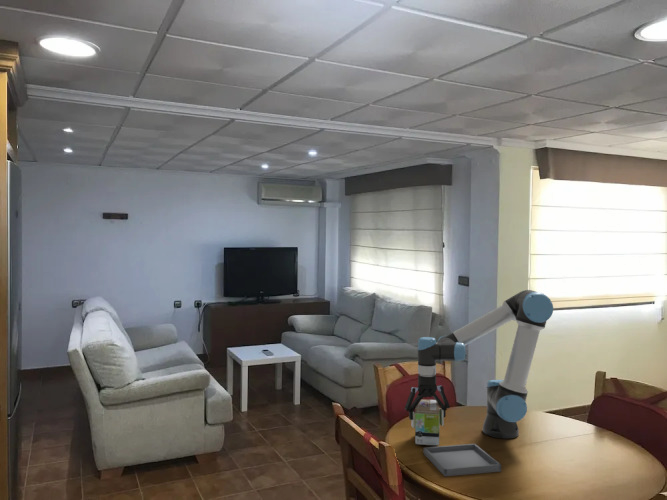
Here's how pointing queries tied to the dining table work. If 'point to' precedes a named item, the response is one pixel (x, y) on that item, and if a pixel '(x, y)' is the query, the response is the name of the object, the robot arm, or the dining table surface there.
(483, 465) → the tray
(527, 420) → the dining table surface
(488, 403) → the robot arm
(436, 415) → the tea box
